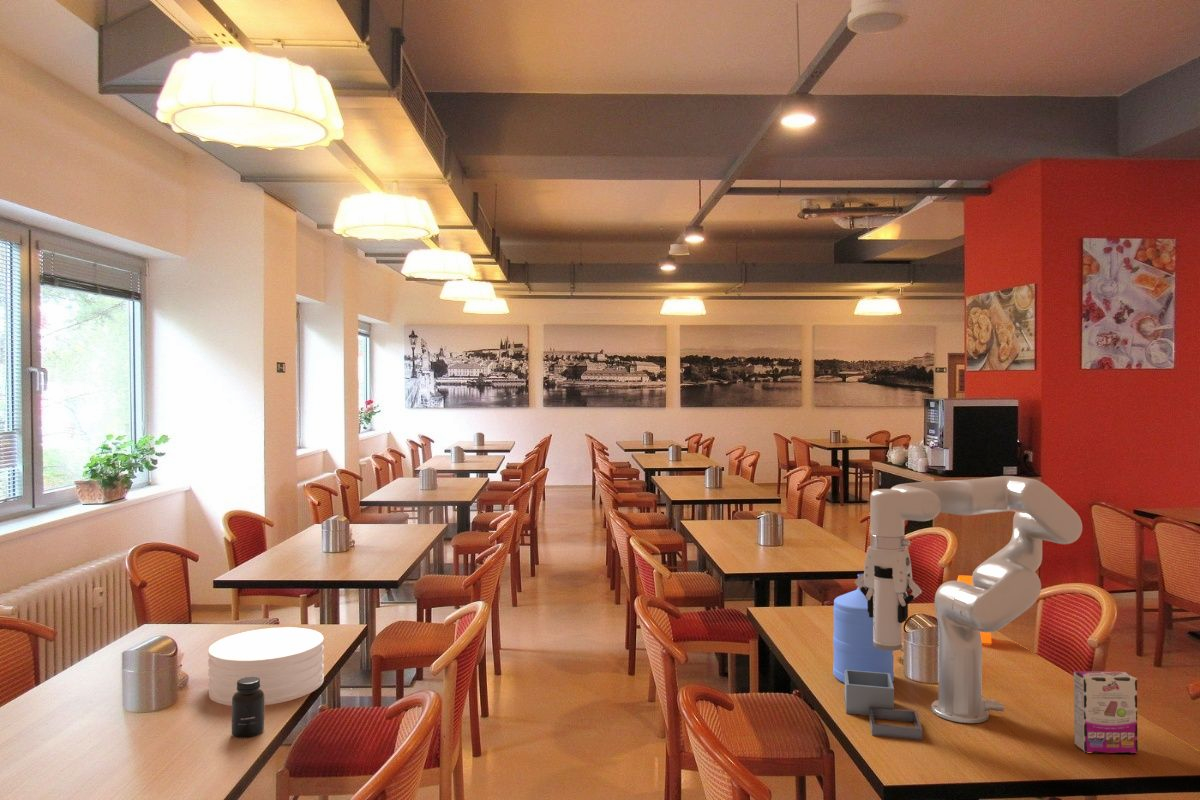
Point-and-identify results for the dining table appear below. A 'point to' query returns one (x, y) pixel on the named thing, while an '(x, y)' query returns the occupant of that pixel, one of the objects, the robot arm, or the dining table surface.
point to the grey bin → (867, 691)
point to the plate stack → (267, 663)
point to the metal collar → (892, 730)
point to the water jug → (856, 638)
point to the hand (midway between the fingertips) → (887, 618)
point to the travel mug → (885, 611)
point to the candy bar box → (1105, 711)
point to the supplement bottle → (248, 708)
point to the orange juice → (968, 579)
